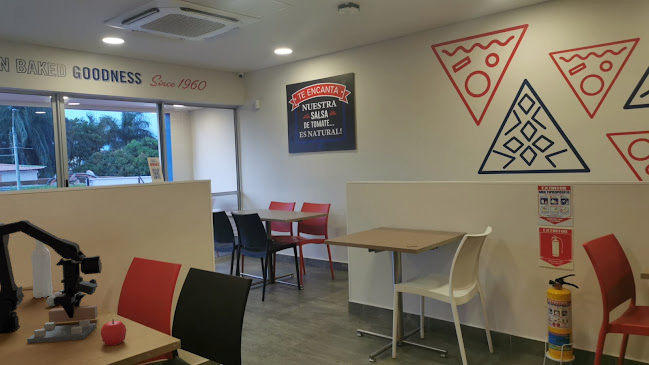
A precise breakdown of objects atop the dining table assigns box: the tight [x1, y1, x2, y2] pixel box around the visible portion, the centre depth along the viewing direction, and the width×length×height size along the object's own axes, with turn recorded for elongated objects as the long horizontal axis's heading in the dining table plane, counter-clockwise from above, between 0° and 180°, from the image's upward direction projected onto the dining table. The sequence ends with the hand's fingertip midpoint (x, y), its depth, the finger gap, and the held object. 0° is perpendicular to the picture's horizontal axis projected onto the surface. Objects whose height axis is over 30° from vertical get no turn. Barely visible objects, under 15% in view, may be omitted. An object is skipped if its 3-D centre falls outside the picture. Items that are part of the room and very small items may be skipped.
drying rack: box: [26, 319, 97, 344], centre depth 165 cm, size 18×12×4 cm, turn 97°
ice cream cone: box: [46, 289, 64, 307], centre depth 208 cm, size 6×6×15 cm
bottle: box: [31, 239, 54, 299], centre depth 220 cm, size 8×8×30 cm
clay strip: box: [48, 304, 98, 324], centre depth 179 cm, size 16×4×4 cm, turn 103°
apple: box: [100, 318, 127, 346], centre depth 155 cm, size 8×8×8 cm
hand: (73, 316), depth 179 cm, fingers closed on clay strip, 4 cm apart
